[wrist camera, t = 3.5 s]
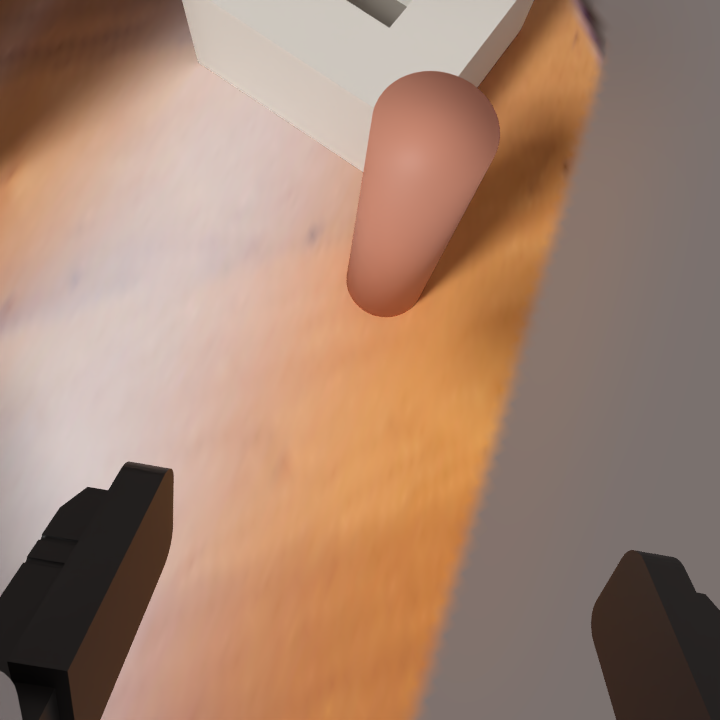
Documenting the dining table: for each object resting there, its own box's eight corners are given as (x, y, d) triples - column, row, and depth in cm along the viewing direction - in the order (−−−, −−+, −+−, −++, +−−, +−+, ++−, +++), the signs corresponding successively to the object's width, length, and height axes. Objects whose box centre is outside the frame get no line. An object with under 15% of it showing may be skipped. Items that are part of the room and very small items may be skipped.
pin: (331, 288, 28) (346, 138, 16) (374, 230, 29) (417, 48, 17) (395, 331, 28) (455, 211, 16) (437, 272, 29) (523, 116, 17)
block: (198, 62, 30) (176, -22, 25) (335, -88, 33) (340, -189, 28) (396, 194, 29) (413, 134, 25) (520, 29, 32) (558, -54, 27)
